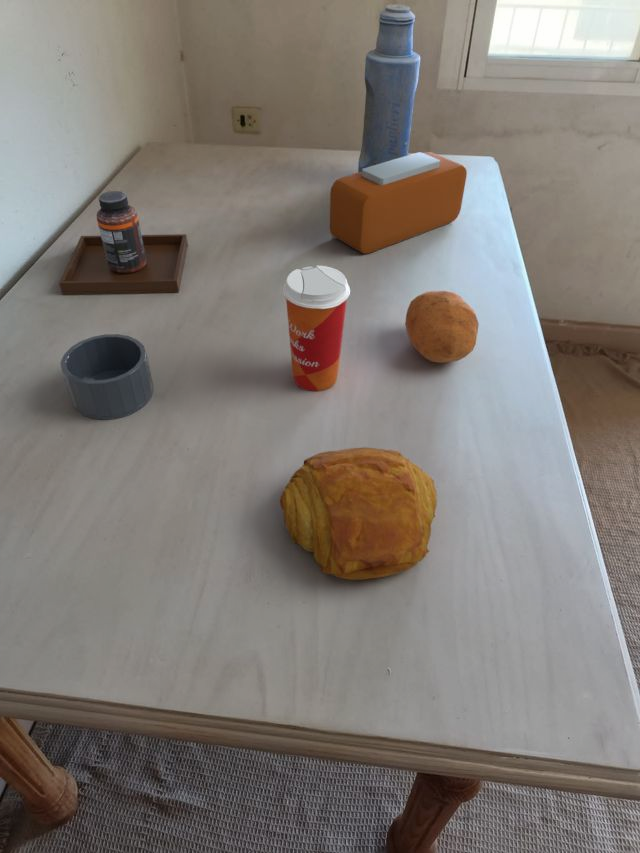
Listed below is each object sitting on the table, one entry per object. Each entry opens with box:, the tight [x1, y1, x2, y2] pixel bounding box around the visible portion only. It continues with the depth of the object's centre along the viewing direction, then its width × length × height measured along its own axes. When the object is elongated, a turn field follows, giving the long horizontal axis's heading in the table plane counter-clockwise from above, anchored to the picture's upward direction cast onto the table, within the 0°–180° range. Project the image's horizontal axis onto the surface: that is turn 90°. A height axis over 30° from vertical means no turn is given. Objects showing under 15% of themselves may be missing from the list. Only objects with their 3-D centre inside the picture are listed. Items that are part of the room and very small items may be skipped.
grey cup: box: [60, 333, 154, 421], centre depth 75 cm, size 10×10×6 cm
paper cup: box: [282, 264, 351, 392], centre depth 75 cm, size 8×8×14 cm
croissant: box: [279, 446, 438, 581], centre depth 61 cm, size 14×16×8 cm
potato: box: [404, 290, 479, 364], centre depth 82 cm, size 9×11×8 cm
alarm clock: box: [329, 151, 468, 255], centre depth 107 cm, size 24×8×11 cm, turn 128°
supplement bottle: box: [96, 190, 146, 273], centre depth 95 cm, size 6×6×11 cm
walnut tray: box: [58, 233, 189, 296], centre depth 99 cm, size 17×15×2 cm
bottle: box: [357, 4, 421, 173], centre depth 116 cm, size 10×10×30 cm
